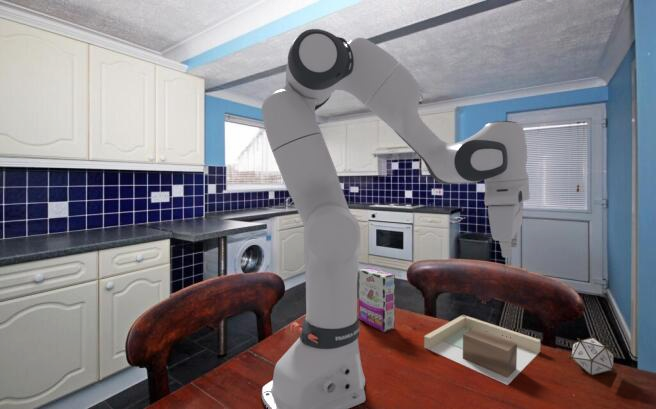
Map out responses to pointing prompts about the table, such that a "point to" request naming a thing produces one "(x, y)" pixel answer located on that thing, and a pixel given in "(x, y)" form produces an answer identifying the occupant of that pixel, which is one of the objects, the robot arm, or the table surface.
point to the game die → (592, 356)
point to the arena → (451, 334)
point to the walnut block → (490, 352)
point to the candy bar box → (377, 298)
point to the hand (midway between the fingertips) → (510, 251)
